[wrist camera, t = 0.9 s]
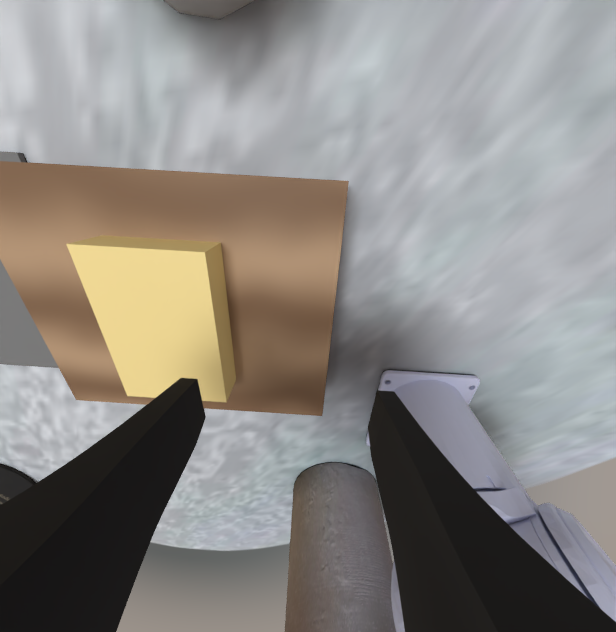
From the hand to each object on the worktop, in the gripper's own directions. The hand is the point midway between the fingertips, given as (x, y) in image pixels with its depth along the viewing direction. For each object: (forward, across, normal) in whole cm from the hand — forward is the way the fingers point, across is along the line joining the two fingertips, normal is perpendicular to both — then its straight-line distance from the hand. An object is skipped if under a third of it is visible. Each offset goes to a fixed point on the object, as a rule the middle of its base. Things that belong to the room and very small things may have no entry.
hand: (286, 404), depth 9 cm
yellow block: (+6, +7, 0) cm, 9 cm away
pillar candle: (+10, -5, +24) cm, 27 cm away
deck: (+10, +7, 0) cm, 12 cm away
